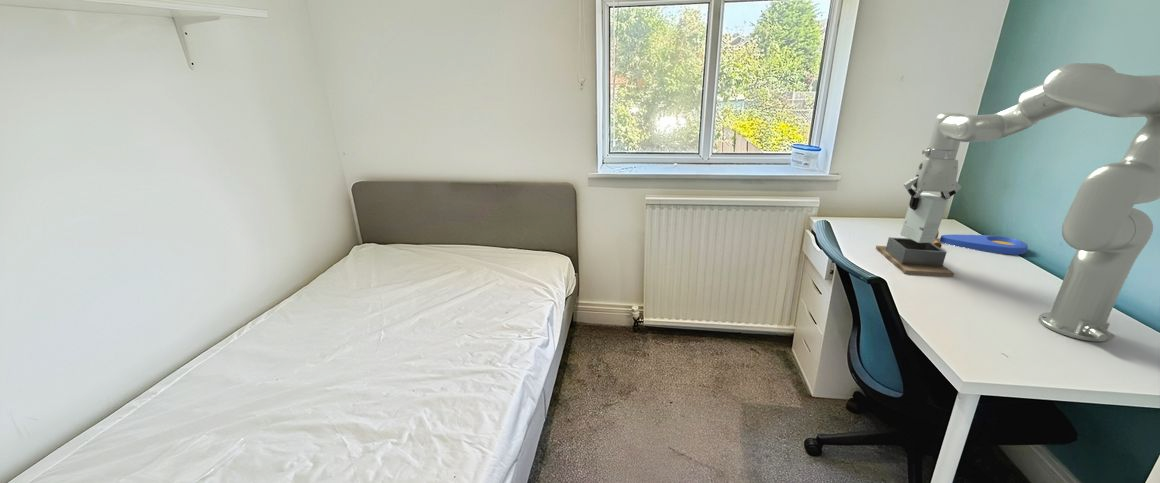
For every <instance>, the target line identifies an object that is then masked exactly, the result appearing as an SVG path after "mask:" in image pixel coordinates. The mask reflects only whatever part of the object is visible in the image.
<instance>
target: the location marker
mask: <svg viewBox="0 0 1160 483" xmlns="http://www.w3.org/2000/svg"><path fill="white" fill-rule="evenodd" d="M939 242H940V243H942V242H943V243H942V244H945V243H946V244H945V245H949V244H950V246H953V245H955V246H954V247H958V246H959V248H963V247H965V249H968V248H969V250H974V249H975V250H974V251H980V252H985V253H986V252H987V253H992V254H993V253H994V254H1000V253H1001V254H1002V255H1009V256H1020V255H1021V256H1022V255H1025V254H1026V253H1027V250H1028V248H1029V247H1028V246H1029V245H1028V243H1026V242H1024V241H1021V240H1019V239H1015V238H1010V237H1008V236H1001V235H990V234H989V235H986V234H941V236H940V239H939Z"/></svg>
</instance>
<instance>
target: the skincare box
mask: <svg viewBox="0 0 1160 483" xmlns="http://www.w3.org/2000/svg"><path fill="white" fill-rule="evenodd" d="M918 198H919V202H918V206H917V209H916V210H913V209H911V208H910V206H909V205H908V208H907V211H906V214H905V216H904V217H905V218H904V221H903V224H902V227H901V230H900V236H903V238H909V239H911V240H914V241H916V242H918V243H930V242H934V241H935V238H936V235H937V232H938V231H939V228H940V226H941V222H942V220H943V217H944V213H945V210H946V208H947V205H948V202H949V199H944V198H942V197H941V196H939V195H936V194H932V193H931V192H922V193H921V194H920V195H919V196H918Z"/></svg>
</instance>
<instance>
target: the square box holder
mask: <svg viewBox="0 0 1160 483" xmlns="http://www.w3.org/2000/svg"><path fill="white" fill-rule="evenodd" d="M875 250H876V251H878V252H879V253H880V254H881V255H883V256H884V257H885V259H887V260H888V261H889V262H890V263H892V264H893V265H894V267H896V268H897V269H898V270H900V271H901V272H902V273H903V274H905V275H915V276H916V275H919V276H920V275H921V276H931V277H932V276H934V277H951V278H954V276H955V272H953V271H952V270H951V269H949V268H948V267H946V266H945V265H944V262H945V259H946V256H947V252H946V251H945V250H943V249H942V247H941V248H939V247H938V246H936V245H935V244H933V243H932V242H930V243H918V242H916V241H914V240H911V239H909V238H907V237H888V239H887V244H886V245H875Z"/></svg>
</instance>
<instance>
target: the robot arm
mask: <svg viewBox="0 0 1160 483" xmlns="http://www.w3.org/2000/svg"><path fill="white" fill-rule="evenodd" d="M1017 101H1018V102H1017V104H1015V105H1013V106H1010V107H1008V108H1005V109H1004V110H1001V111H999V112H996V113H993V114H974V115H973V114H971V115H966V114H964V113H958V112H941V113H939V114H937V115H936V117H935V120H934V124H933V128H932V131H931V135H930V139H929V143H928V146H927V148H926V149H923V150H922V152H921V154H922V155H925V156H923V158H922V159H921V161H920V163H919V165H918V167H917V170H916V172H915V175H914V177H913V178H911V179H909V180H908V181H906V182H904V183H903V187H904V189H905V190H906V191H907V192H908V194H909V195H910V200H909V204H908V207H909V206H910V208H911V209H913V210H916V209H917V206H918V202H919V198H918V196H919V195H920V194H921V193H924V192H935V193H939V194H940V197H942V198H944V199H947V200H949V199H950V198H951V197H953V196H954V195H956V193H957V192H959V191H960V190H962V188H963V187H962V185H961V184H960V183H959V182H958V181H957V178H958V172H959V159H956V158H957V156H958V151H959V149H960V145H961V143H976V142H991V141H996V140H999V139H1004V138H1005V137H1009V136H1011V135H1015V134H1017V133H1020V132H1023V131H1025V130H1027V129H1029V128H1030V127H1032V126H1034V125H1036V124H1037V123H1039V122H1041V121H1042V120H1044V119H1045V120H1046V119H1047V118H1051V117H1053V116H1057V115H1058V114H1061V113H1064V112H1066V111H1067V112H1068V111H1069V110H1072V109H1075V108H1076V109H1080V110H1084V111H1088V112H1091V113H1094V114H1095V113H1096V114H1097V115H1102V116H1108V117H1113V118H1120V119H1121V118H1123V119H1124V118H1127V119H1128V118H1142V117H1144V118H1145V119H1147V120H1146V122H1145V124H1144V125H1143V126H1142V128H1141V129H1140V130H1138V132H1137V133H1136V135H1135V136H1134V137H1133V138H1132V140H1131V142H1130V144H1129V147H1128V149H1127V150H1126V152H1125V154H1124V156H1123V158H1121V160H1120V161H1118V162H1111V163H1108V164H1104V165H1101V166H1100V167H1097V168H1095V169H1094V170H1092V171H1091V172H1090V173H1089V174H1088V175H1087V176H1086V177H1085V178H1084V180H1083V181H1082V182H1081V185H1080V187H1079V188H1078V189H1077V190H1078V191H1077V192H1076V195H1075V197H1074V199H1073V201H1072V203H1071V205H1070V206H1069V209H1068V211H1067V212H1066V216H1065V217H1064V219H1063V222H1062V224H1061V235H1062V238H1063V240H1064V241H1065V242H1066V244H1067V245H1068V246H1070V247H1071V248H1073V249H1075V250H1076V252H1075V253H1074V255H1073V257H1072V259H1071V261H1070V264H1069V265H1068V267H1067V270H1066V273H1065V276H1064V278H1063V280H1062V283H1061V285H1060V287H1059V290H1058V293H1057V295H1056V298H1055V300H1054V302H1053V305H1052V307H1051V309H1050V312H1049V311H1047V312H1042V313H1040V315H1039V317H1038V320H1039V322H1040V324H1042V325H1043V326H1044V327H1046V328H1048V329H1049V330H1051V331H1054V332H1055V333H1059V334H1060V335H1062V336H1063V335H1064V336H1066V337H1070V338H1074V339H1078V340H1082V341H1089V342H1106V341H1109V340H1112V339H1114V338H1115V334H1114V333H1113V332H1111V331H1109V326H1110V324H1111V323H1110V322H1108V318H1110V315H1111V312H1112V311H1113V308H1114V306H1115V304H1116V302H1117V299H1118V297H1119V296H1120V293H1121V292H1122V288H1123V287H1124V284H1125V282H1126V281H1127V278H1128V276H1129V274H1130V272H1131V270H1132V268H1133V265H1134V264H1135V262H1136V260H1137V259H1138V258H1139V255H1140V254H1141V252H1142V251H1143V250H1144V248H1145V247H1146V246H1147V244H1148V243H1149V241H1150V239H1151V237H1152V235H1153V232H1154V224H1153V221H1152V219H1151V217H1150V215H1148V214H1147V213H1145V212H1144V211H1143V210H1141V209H1138V208H1135V207H1134V206H1135V205H1142V204H1147V203H1151V202H1155V201H1157V200H1160V74H1158V75H1157V74H1155V75H1153V74H1152V75H1134V74H1132V75H1131V74H1125V73H1121V72H1117V71H1116V70H1115V69H1114V68H1113V67H1112V66H1110V65H1107V64H1104V63H1098V62H1097V63H1096V62H1095V63H1094V62H1093V63H1088V62H1087V63H1085V62H1084V63H1083V62H1081V63H1080V62H1079V63H1069V64H1065V65H1063V66H1060V67H1058V68H1056V69H1054V70H1053V71H1052V72H1050V73H1049V74H1048V75H1047V76H1046V77H1045V79H1044V81H1043V83H1040V84H1038V85H1036V86H1034V87H1031V88H1029V89H1027V90H1025V91H1023V92H1022V93H1021V94H1020V95H1019V97H1018V100H1017ZM912 186H913V187H914V189H913V188H912Z"/></svg>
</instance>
